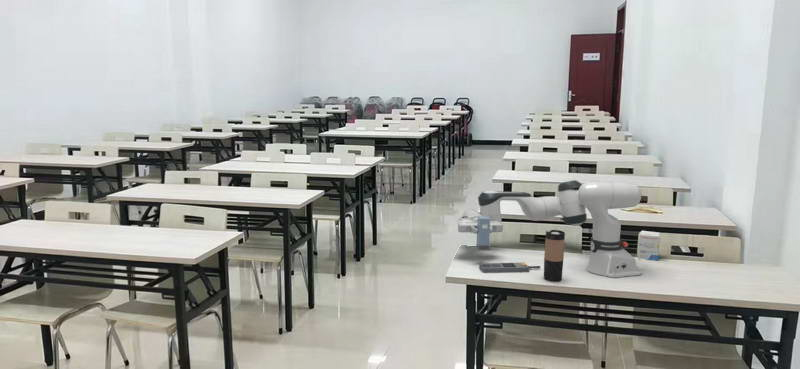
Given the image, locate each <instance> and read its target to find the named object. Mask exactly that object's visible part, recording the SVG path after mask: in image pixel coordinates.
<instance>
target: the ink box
mask: <svg viewBox="0 0 800 369" xmlns="http://www.w3.org/2000/svg"><path fill="white" fill-rule="evenodd" d="M660 240H661V232H657V231H647V230H641V231H640V233H639V242H638V244H639V245H638V259H640V260H649V261H659V254H660V244H661V241H660Z"/></svg>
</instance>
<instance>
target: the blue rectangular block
mask: <svg viewBox="0 0 800 369" xmlns="http://www.w3.org/2000/svg"><path fill="white" fill-rule="evenodd" d="M477 228H478V229H479V231H478V232H479V233H477V234H476V244H475V245H476V248H477V249H478V250H479V251H489V250H490V236H491V233H490V218H489V217H488V216H478V219H477Z"/></svg>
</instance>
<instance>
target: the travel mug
mask: <svg viewBox="0 0 800 369" xmlns="http://www.w3.org/2000/svg"><path fill="white" fill-rule="evenodd" d="M565 236H566V232H565V231H563V230H558V229H551V230H548V231H547V230H546V231H545V244H544V256H543V279H544V280H545V281H548V282H551V283H557V282H561V281H562V277H563V268H564V260H565V259H564V257H565V238H566V237H565Z"/></svg>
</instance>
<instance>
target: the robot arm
mask: <svg viewBox="0 0 800 369" xmlns="http://www.w3.org/2000/svg"><path fill="white" fill-rule="evenodd" d="M557 192H558V196H555V195H553V196H552V195H551V196H549V195H548V196H539V197H537V196H536V197H534V196H533V195H531V194H530V193H529V192H524V191H497V190H483V191H481V193H480V194H479V196H477V197H478V198H477V200H478V205H479V211H478V210H476V209H474V208H468V209H466V210H465V211H464V212H463V214H462V216H459V217H458V220H457V232H458V233H471V234H474V235H477V233H479V232H478V231H479V229H478V228H477V219H478V216H488V217H489V218H490V234H492V233H502V232H503V230H504V226H503V222H502V213H501V202H502V201H516V202H517V203H518V205H519V206H520V208H521V211H522V213H523V214H524V215H525V217H527V218H528V219H529V220H530V221H534V222H535V221H536V222H537V221H543V220H548V219H552V218H555V217H558V216H561V218H559V219H560V221H563V223H564V224H566V225H567V226H572V227H573V226H574V227H578V226H580V225H583V224H584V223H586V221H587V218H588V216H587V215H588V214H587V213H586V211H588V212H589V213H590V216H591V219H592V236H591V238H590V254H589V258H588V259H589V260H588V262H587V265H586V268H585V269H586V270H587V271H588V272H590V273H591V274H596V275H600V276H605V277H609V278H623V277H624V278H625V277H632V276H633V277H634V276H641V275H642V270H641V269H640V268H638V267H637V262H636V259H635V257H634V256H633V255H631V254H630V253H629V252H628V251H627V250H626V249H624V247H625V248H627V247H629V243H628V242H626V241H623V240H621V229H622V228H621V225H622V224H621V221H620V220H619V219H618V218H617V217H616V216H613V215H612V214H609V211H608V210H612V209H613V210H614V209H615V210H616V209H627V208H628V209H629V208H635V207H637V206H638V205H639V204H640V202H641V199H642V192H641V189H640V187H639V186H638V185H637V184H634V183H630V182H626V181H590V182H589V181H588V182H583V183H581V182H580V181H578V180H576V179H575V180H574V179H566V180H564V181H562V182H560V183H558V187H557ZM586 209H587V210H586Z"/></svg>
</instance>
